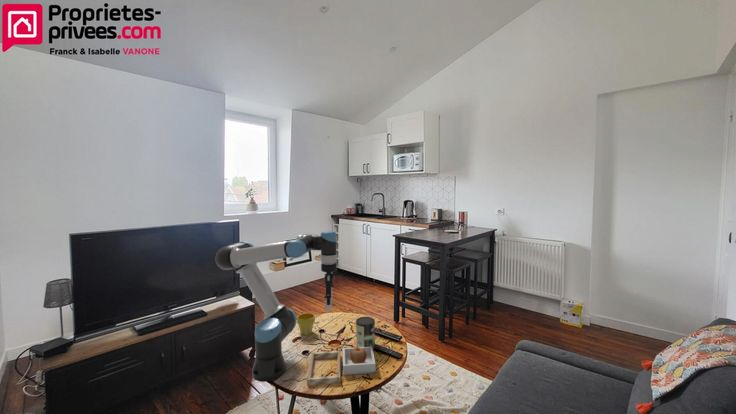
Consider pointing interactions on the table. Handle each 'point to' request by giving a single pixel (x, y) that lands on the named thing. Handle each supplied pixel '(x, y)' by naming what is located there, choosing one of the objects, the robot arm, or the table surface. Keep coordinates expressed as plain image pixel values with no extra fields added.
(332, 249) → the robot arm
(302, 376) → the table surface
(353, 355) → the apple
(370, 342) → the coffee can
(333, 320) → the table surface
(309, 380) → the corral
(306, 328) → the plant pot
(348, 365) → the bin
